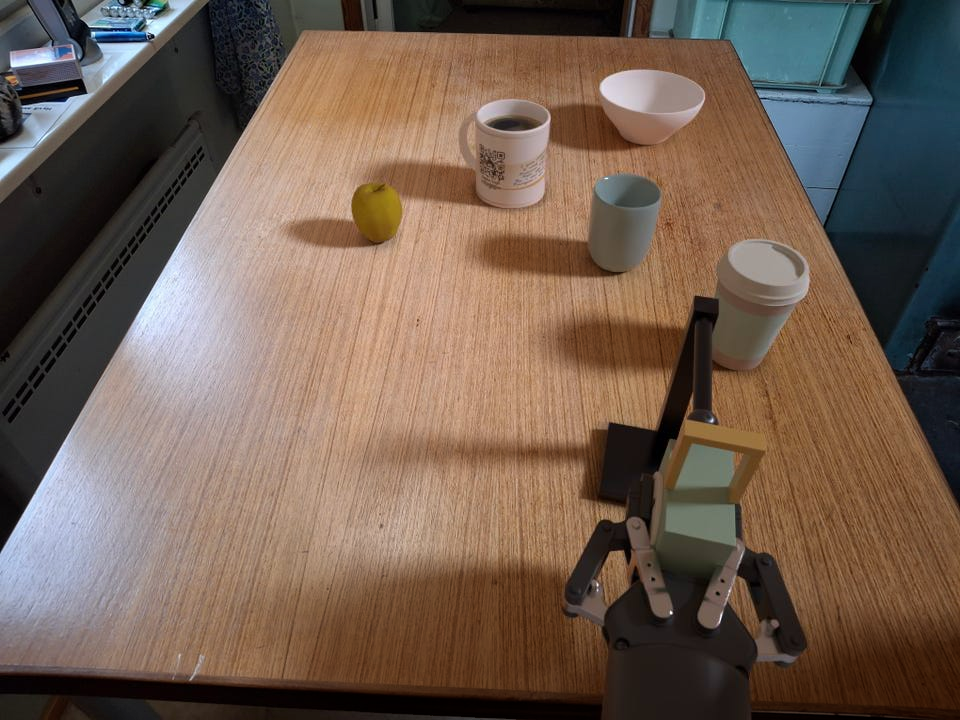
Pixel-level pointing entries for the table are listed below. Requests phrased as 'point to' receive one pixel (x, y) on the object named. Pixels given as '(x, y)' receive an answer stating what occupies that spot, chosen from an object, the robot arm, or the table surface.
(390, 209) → the apple
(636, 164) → the table surface
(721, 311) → the coffee cup
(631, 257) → the cup
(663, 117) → the bowl
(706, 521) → the green box with handle
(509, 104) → the mug
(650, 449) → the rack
